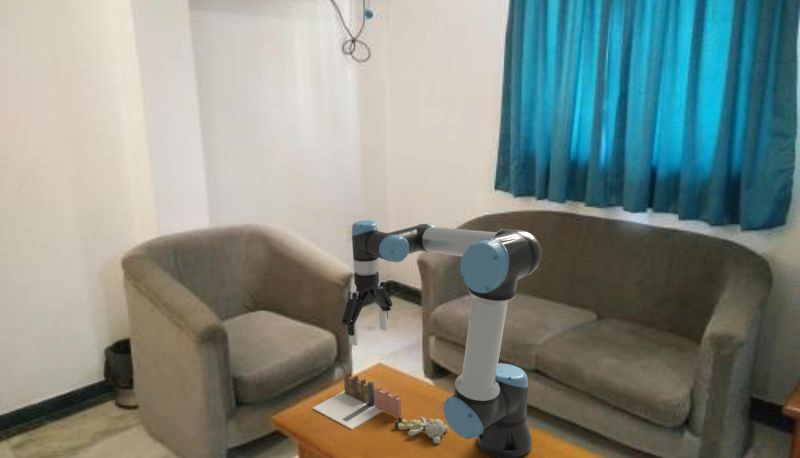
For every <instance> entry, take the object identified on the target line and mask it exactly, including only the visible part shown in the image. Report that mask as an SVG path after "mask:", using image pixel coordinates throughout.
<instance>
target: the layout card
mask: <svg viewBox="0 0 800 458" xmlns="http://www.w3.org/2000/svg"><path fill="white" fill-rule="evenodd" d="M312 410H314V411H316V412H319V413H320V414H322V415H323V416H325V417H327V418H328V419H331V420H333V421H335V422H337V423H339V424H340V425H342V426H344V427H346V428H348V429H349V430H354V429H356V428H358V427H360V426H361V425H363V424H364V423H366V422H368V421H370V420H371V419H373V418H374V417H376V416H377V415H379V414H381V413H382V412H385V411H384V410H381V409H379V408H377V407H375V405H373V406H370V405H369V401H368V402H363V401H361V400H359V399H357V398H355V397H353V396H351V395H349V394H347V393H345V390H343V391H341V392H340V393H337V394H335V395H333V396H332V397H330V398H328V399H326V400H324V401H323V402H321V403H319V404H316V405H315V406H313V407H312Z"/></svg>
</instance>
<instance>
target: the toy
mask: <svg viewBox="0 0 800 458" xmlns="http://www.w3.org/2000/svg"><path fill="white" fill-rule="evenodd" d="M397 418H398V417H397ZM394 428H395V429H396V430H400V431H405V430H408V429H409V431H407V434H408V435H409V436H411V437H412V436H416V435H418V434H419V433H423V432H424V431H426V434H427V436H428V437H429V438H430V439H432V440H433V444H437V445H438V444H440V443H441V440H442V439H441V438H442V436H443V435H444V434H445V433H448V432H449V425H447V424H444V421H443V420H442V419H439V418H436V419H433V418H430V419H429V418H428V419H426V418H425V417H424V416H419V419H409V420H407V419H405V418H403V417H402V416H400V417H399V418H398V419H397V420H395V422H394Z"/></svg>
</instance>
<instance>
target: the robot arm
mask: <svg viewBox="0 0 800 458" xmlns="http://www.w3.org/2000/svg"><path fill="white" fill-rule="evenodd" d="M351 242H352V257H353V259H352V260H353V271H354V273H353V281H354V285H355V286H356V289H355V291H349V292H348V294H347V295H348V296H347V302H346V306H345V308H344V313H343V317H342V320H341V324H342V325H345V326H347V334H348V335H347V336H348V337H349V338H348V339H349V344H350V345H352V346H356V347H357V346H358V345H359V342H358V339H359V338H358V325H357V324H356V322H357V320H358V318H359V316H360V313H361V312H362V310H363V307H364V306H366V303H369V302H370V301H374V302H375V303H376V304H377V305H378V307H379V308H380V309H379V310H378V314H379V315H378V318H379V319H378V320H379V330H382V331H385V332H387V331H388V329H389V328H388V319H389V312H390V311H391V307H393V306H394V305H393V302H392V300H391V298H390V295H389V293H388V291H387V288H386V283H385V281H382V280H380V272H379V266H380V265H379V259H382V260H385V261H387V262H390V263H392V262H393V263H400V262H403V261H404V260H405V259H406V258H407V257H408V255H410V254H414V253H418V252H427V253H433V254H442V255H450V256H457V257H461V260H460V274H461V276H462V277H463V279H462V280H463V283H464V284H465V285H466V287H467V292H468V293H469V294H470V295H471V296H472V298H471V305H470V312H469V313H470V314H469V321H468V326H467V335H466V342H465V351H464V358H463V364H462V365H463V367H462V373H461V374H460V375H458V376H457V378H456V379H455V381H454V387H453V388H454V389H453V394H452V396H448V397H447V398H446V399H445V400H444V402H443V405H442V411H443V416H444V418H445V420H446V423H447V424H448V427H449V428H450V429H451V430H452V431H453V432H454V433H455V434H456V435H457V436H460V437H461V438H464V439H467V440H469V439H471V440H472V439H474V438H476V437H477V445H478V447H479V448H480V450H481V451H483V452H484V453H485V454H487V455H489V456H491V457H494V458H522V457H524V456H526V455H527V454H528V453H530V451H531V450H532V446H533V444H532V443H533V437H532V433H531V432H530V428H529V425H528V421H527V409H528V408H527V407H528V389H529V384H528V381H529V380H528V375H527V373H526V371H525V370H523V369H522V368H520V367H518V366H517V365H513V364H508V363H501V362H500V363H499V361H500V360H499V359H500V353H501V347H502V341H503V334H504V328H505V321H506V317H507V316H506V315H507V308H508V302H510V301H512V300H513V299H514V298H515V297H516V292H517V285H518V281H519V280H520V279H523V278H525V277H527V276H529V275H531V274H532V273H533V272H535V271H536V270H537V268H538V267H539V265H540V262H541V261H542V247H541V245H540V242H539V241H538V239H537V238H536V236H534V235H533V234H532V233H530V232H529V231H525V230H521V229H506V228H504V229H503V228H502V229H500V230H498V231H497V232H496V231H495V232H494V231H483V230H472V229H471V230H470V229H462V228H461V229H459V228H449V227H438V226H437V227H436V226H435V225H433V223H420V224H417V225H415V226H411V227H407V228H404V229H398V230H395V231H391V232H383V231H380V230H378V224H377V222H375V221H373V220H359V221H355V222H354V223H352V226H351Z"/></svg>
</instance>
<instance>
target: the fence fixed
mask: <svg viewBox="0 0 800 458" xmlns="http://www.w3.org/2000/svg"><path fill="white" fill-rule="evenodd" d="M343 382H344V383H343V384H344V387H343V388H344V391H345V393H347V394H349V395H351V396H353V397H355V398H357V399H359V400H361V401H363V402H368V401H369V405H370V406H373V405H375V392H374V389H375V382H373V381H369V382H368V383H366V379H365V378H363V379H361V380H359V376H358V375H355V376H351V372H347V373H345V375H344V376H343Z"/></svg>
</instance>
